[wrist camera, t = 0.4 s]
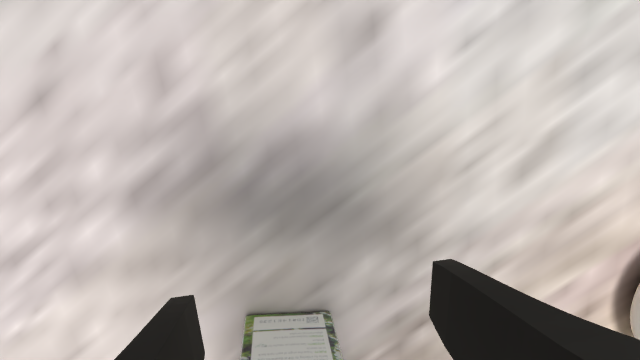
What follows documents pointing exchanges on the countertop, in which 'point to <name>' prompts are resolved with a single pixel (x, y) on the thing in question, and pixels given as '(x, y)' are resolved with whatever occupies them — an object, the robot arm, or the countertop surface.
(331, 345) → the syrup box
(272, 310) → the countertop surface
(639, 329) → the flower in vase
